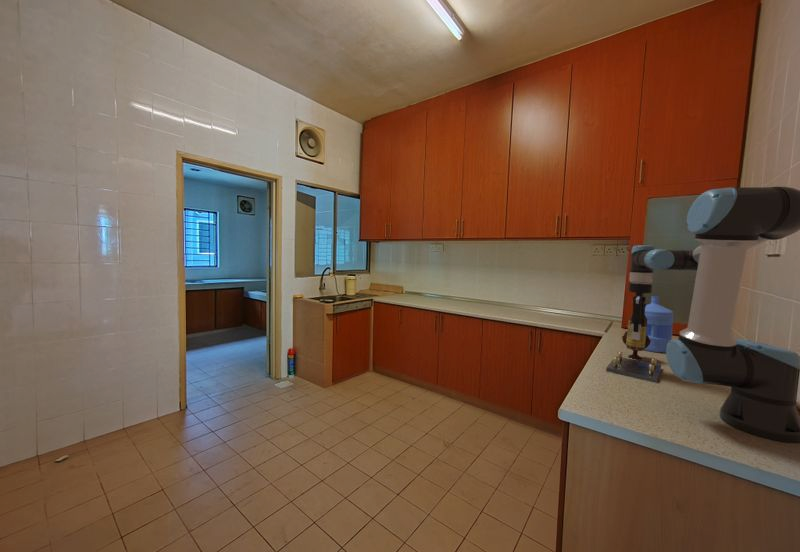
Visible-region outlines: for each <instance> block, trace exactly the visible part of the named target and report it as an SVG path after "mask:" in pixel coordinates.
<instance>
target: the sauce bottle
mask: <svg viewBox="0 0 800 552" xmlns="http://www.w3.org/2000/svg"><path fill="white" fill-rule="evenodd" d="M646 305H647V302H645V303H644V307H643V308H642V312H641V321H640V322H641V328H640V340H634V339H631V333H632V323H630V322H632V315H633V312H632V314H631V315H630V317H629V319H628V324H627V330H626V331H627V341H626V345H625V346H626V348H627V349H629V350H630V351H633V350H636V351H638V352H643V351H645V350H644V347H645V340H646V332H647V318H646V316H645V307H646ZM641 306H642V305H641Z"/></svg>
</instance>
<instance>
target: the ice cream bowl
mask: <svg viewBox="0 0 800 552" xmlns="http://www.w3.org/2000/svg"><path fill="white" fill-rule="evenodd" d="M627 331H628V330H626V331H625V332H624V333H623V335H622V337H621V339H622V342H623V344H624V345H625V346H626V341H627ZM650 342H651V340H649V337H648V336H647V332H646V340H645V347H644V349H645V348H647V347H648V346H649V344H650ZM638 352H639V351H636V350H632V354H629V355H628V356H627V358H628V357H629V358H628V359H630V358H632V360H634V359H636V360H637V361H642V360H643V358H642V357H641V356H640V355H638Z"/></svg>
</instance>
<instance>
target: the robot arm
mask: <svg viewBox="0 0 800 552" xmlns="http://www.w3.org/2000/svg"><path fill="white" fill-rule="evenodd" d="M686 216H687V217H686V225H687V227H686V228H687V230H688V231H689V232H691V233H693V234H694V235H695V236H694V240H695V241H696V242H697V243H698V244H699V246H697V247H695V248H694V249H664V248H659V249H658V248H656V247H655V246H654V245H647V244H646V245H640V244H639V245H634V246H632V248H631V253H630V268H629V269H630V270H629V279H628V281H629V282H630V283H628V292H630V293H635V294H634V296H632V313H633V315H632V314H631V315H632V322H630V323H632V333H631V339H634V340H640V328H641V322H640V321H641V312H642V308H643V307H644V303H646V301H647V297H646V296H645V294H652V290H653V285H652V283H653V279H655V278H656V277H655V275H653V274H654V270H655V271H657V270H658V271H662V270H663V271H664V270H665V271H669V270H670V271H688V272H689V271H693V272H694V271H695V272H696V273H695V274H696V275H695V280H694V288H693V292H692V293H693V294H692V297H691V298H692V299H691V306H690V310H689V316H688V321H687V327H686V328H684V329H682V330H680V331H679V332H678V333H679V334H678V339H677V338H674V339H672V340H670V341H669V343H668V344H667V348H666V353H665V354H666V359H667V363H668V365H669V368H670V369H671V371H672V373H673V374H674V375H675V377H677V378H678V379H679V380H681V381H685V382H687V383H689V382H690V383H695V384H697V385H698V384H699V385H701V384H703V385H710V386H711V385H712V386H720V387H729V388H730V392H729V394H728V396H727V397H726V399H725V401H723V404H722V405H721V407H720V410H719V418H720V419H721V420H722V421H724V422H725V423H726V424H728V425H730V426H732V427H734V428H737V429H738V430H741V431H743V432H746V433H750V434H752V435H755V436H759V437H762V438H764V439H765V438H766V439H771V440H772V441H773V440H774V441H779V442H785V443H800V416H799V413H798V412H799V411H798V410H797V400H798V392H799V381H800V354H798V353H797V352H795V351H793V350H790V349H788V348H784V347H780V346H776V345H772V344H768V343H764V342H759V341H753V340H748V339H744V338H743V339H739V338H738V339H735V338H733V337H732V335H731V333H732V328H733V324H734V319H735V313H736V309H737V308H736V307H737V304H738V297H739V293H740V289H741V282H742V278H743V273H744V267H745V262H746V257H747V253H748V250H750V249H751V248H754V247H756V246H758V245H760V244H762V243H763V244H764V243H765V242H767V241H778V240H781V239H784V238H786V237H788V236H792V235H793V234H795V233H798V232H799V231H800V189H797V188H795V187H789V186H767V187H766V186H764V187H761V186H760V187H759V186H756V187H755V186H754V187H753V186H752V187H747V186H746V187H745V186H744V187H723V188H713V189H709V190H706V191H704V192H703V193H701V194H700V195H698V197H696V199H695V200H694V201H693V202H692V204H691V205H690V207H689V210H688V212H687V215H686ZM641 305H642V306H641Z"/></svg>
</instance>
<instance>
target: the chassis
mask: <svg viewBox="0 0 800 552" xmlns="http://www.w3.org/2000/svg"><path fill="white" fill-rule="evenodd" d="M605 370H606V372H609V373H613V374H617V375H622V376H626V377H631V378H636V379H640V380H643V381H648V382H653V383H656V384H657V383H658V380H659V377H660V373H661V370H662V365H660V364H657V359H656V358H651V360H650V362H647V361H642V360H634V359H630V358H628V357H627V358H626V357H623V352H622V351H618V352H617V356H616V355H615V356H613V359H612V360H611V362H609V364H608V365H607V366H606V369H605Z"/></svg>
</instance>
